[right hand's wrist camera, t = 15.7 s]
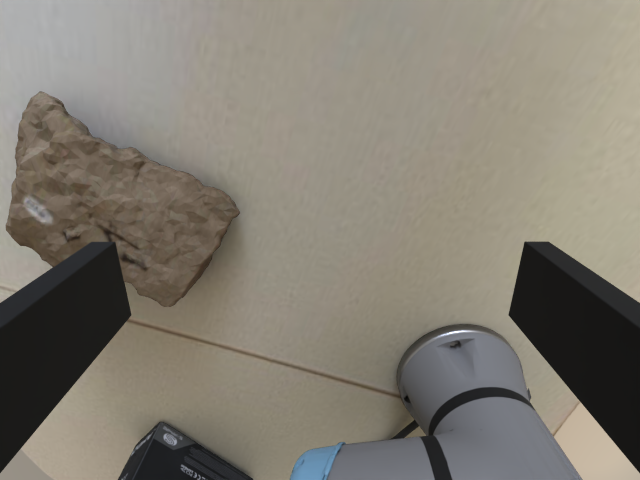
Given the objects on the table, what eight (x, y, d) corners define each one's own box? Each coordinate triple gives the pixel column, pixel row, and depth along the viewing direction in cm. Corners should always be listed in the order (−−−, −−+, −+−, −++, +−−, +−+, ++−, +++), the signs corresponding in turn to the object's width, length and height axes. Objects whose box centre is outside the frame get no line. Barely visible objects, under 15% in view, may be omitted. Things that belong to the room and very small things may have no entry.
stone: (-17, 223, 38) (-57, 239, 32) (46, 90, 36) (16, 82, 31) (183, 303, 45) (179, 327, 40) (243, 195, 44) (247, 204, 38)
